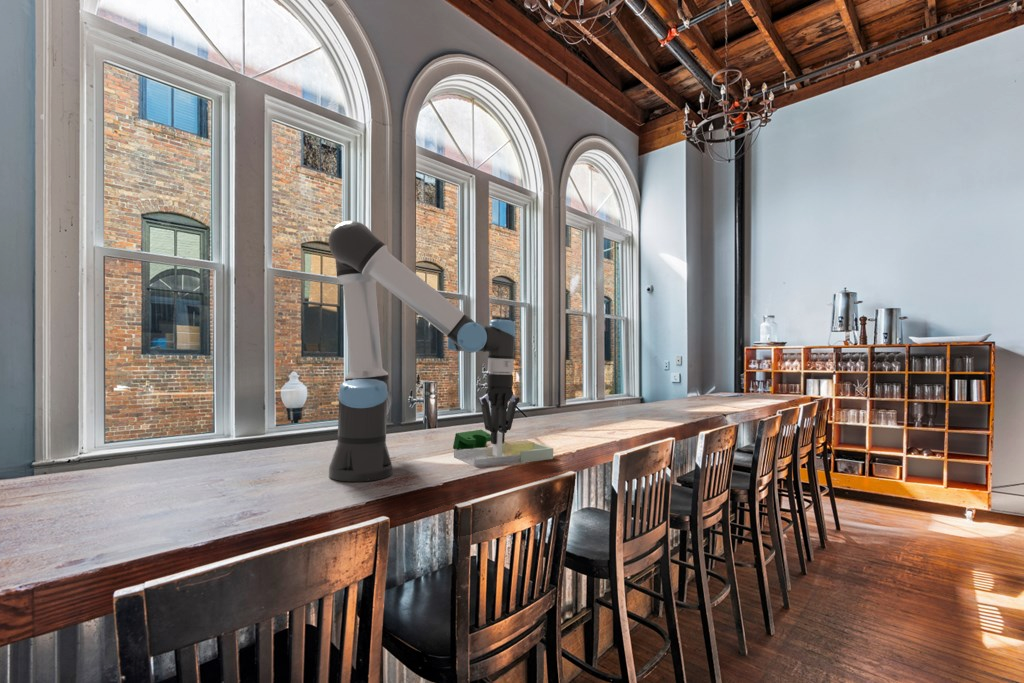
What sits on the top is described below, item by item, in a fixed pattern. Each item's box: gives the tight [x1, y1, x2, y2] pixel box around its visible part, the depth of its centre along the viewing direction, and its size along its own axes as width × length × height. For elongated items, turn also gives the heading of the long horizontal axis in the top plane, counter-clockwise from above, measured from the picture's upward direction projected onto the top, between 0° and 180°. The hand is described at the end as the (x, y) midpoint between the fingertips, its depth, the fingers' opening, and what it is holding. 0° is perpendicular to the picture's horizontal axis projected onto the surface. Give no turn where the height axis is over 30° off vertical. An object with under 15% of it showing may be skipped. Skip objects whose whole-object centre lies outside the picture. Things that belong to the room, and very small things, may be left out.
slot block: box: [453, 446, 521, 468], centre depth 143 cm, size 14×13×3 cm
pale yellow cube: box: [516, 439, 536, 451], centre depth 151 cm, size 4×4×4 cm
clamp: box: [452, 429, 491, 450], centre depth 159 cm, size 12×6×9 cm, turn 132°
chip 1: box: [504, 440, 523, 456], centre depth 149 cm, size 4×4×4 cm
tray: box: [502, 439, 554, 463], centre depth 150 cm, size 11×14×4 cm
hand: (496, 454), depth 146 cm, fingers closed
